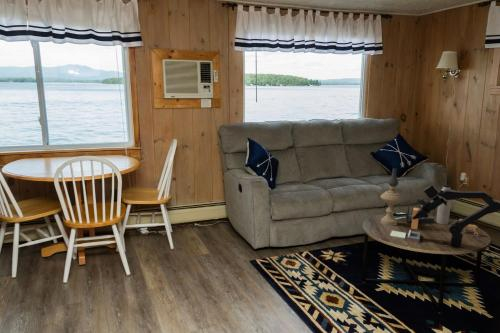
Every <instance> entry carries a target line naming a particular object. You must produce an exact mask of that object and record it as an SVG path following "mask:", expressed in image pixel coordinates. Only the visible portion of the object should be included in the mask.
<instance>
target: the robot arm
mask: <svg viewBox="0 0 500 333" xmlns="http://www.w3.org/2000/svg"><path fill="white" fill-rule="evenodd" d="M422 191H423V193H425V195H426V196H427V197H428V198H430V199H427V200H426V199H425V198H423V197H422V196H418V197H417V198H416V200H415V202H416V203H417V204H419V206H418V208H420V209H419V210H418V213H417V214H416V215H415V216H414V217H413V219H419V218H425V219H426V218H428V215H429V216H430V213H432V212H433V211H434V210H437V209H438V206H440V205H442V204H443V203H444V204H445V205H447V200H451V201H452V200H457V199H481V200H483V201H484V202H485V204H484V206H483V207H482V208H480V209H478V210H476V211H474V212H473V213H471V214H469V215H467V216H466V217H464V218H461V219H462V220H460V221H459V220H458V219H456V218H455V219H454V220H453V221H450V223H449V224H448V231H449V232H448V233H450V234H451V236H450V241H448V242H447V243H448V244H449V245H450V246H451V247H453V248H464V246H463V245H462V241H463V237H464V233H463V231H464V228H465V227H466V226H467V225H469V224H471V225H472V223H474V222H476V221H478V220H479V219H481V218H483V217H485V216H486V215H490V214H494V213H497V212H499V211H500V200H498V199H495V198H493V197H492V196H491V195H489V194H488V193H487V192H486V191H484V190H481V191H479V190H477V191H476V190H475V191H472V190H471V191H469V190H468V191H467V190H466V191H465V190H464V191H463V190H462V191H461V190H455V189H451V188H450V189H445V190H441V189H440V190H439V189H437V188H436V187H435V186H434V184H430V185H428V186H426V187H425V188H424V189H423V190H422ZM444 199H445V200H444Z"/></svg>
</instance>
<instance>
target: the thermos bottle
mask: <svg viewBox="0 0 500 333" xmlns="http://www.w3.org/2000/svg"><path fill="white" fill-rule="evenodd" d="M445 189H451V185H448V184H442V189H440V190H445ZM444 200H445V199H444ZM451 205H452V200H447V205H445V204H444V203H443V204H442V205H440V206H438V207H437V209H436V210H437V211H436V212H437V213H436V219H435V222H436V223H437V224H440V225H446V226H447V225H449V221H450V213H451V212H450V211H451V207H452V206H451Z"/></svg>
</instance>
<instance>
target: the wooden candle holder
mask: <svg viewBox="0 0 500 333" xmlns="http://www.w3.org/2000/svg"><path fill="white" fill-rule="evenodd" d="M387 183H388V185H389V189H388V190H385V191H384V192H383V193H382V194H381V195H380V198H381V200H382V201H384V202H386V203H387V205H388V207H387V208H385V211H386V215H385V216H384V217H382V218H381V220H380V223H381V224H383V225H386V226H390V227H391V226H397V225H398V220H397V218H395V216H394V214H395V212H396V211H395V208H394V206H395V204H399V203H401V202H402V201H403V200H404V197H403V196H402V194H400V192H398V191H399V189H397V186H398V185H399V180H398V177H397V168H396V167H395V168H394V167H393V168H392V174H391V177H390V178H389V180H388V181H387Z"/></svg>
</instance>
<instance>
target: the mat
mask: <svg viewBox="0 0 500 333" xmlns="http://www.w3.org/2000/svg"><path fill="white" fill-rule="evenodd" d="M389 235H390V236H389V237H393V238H399V239H403V240H405V239H406V235H407V232H402V231H396V230H391V231H390V234H389Z"/></svg>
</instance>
